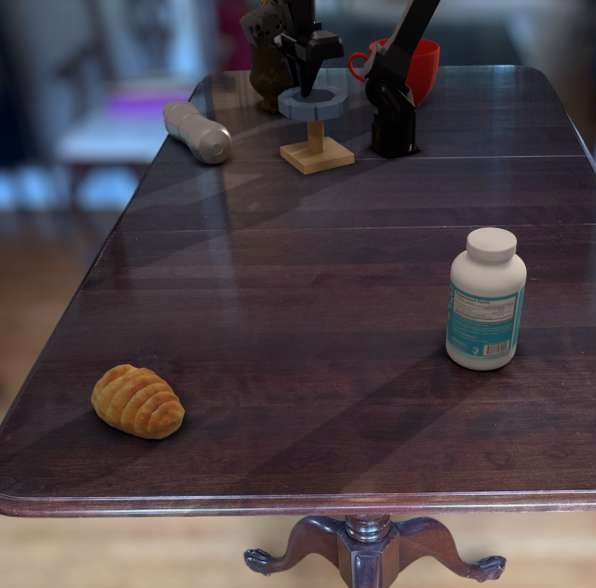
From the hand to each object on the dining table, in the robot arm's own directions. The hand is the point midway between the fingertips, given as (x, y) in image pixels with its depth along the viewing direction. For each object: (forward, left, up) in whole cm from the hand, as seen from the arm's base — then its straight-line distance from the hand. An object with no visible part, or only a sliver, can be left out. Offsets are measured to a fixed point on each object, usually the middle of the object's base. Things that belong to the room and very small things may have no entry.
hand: (302, 94), depth 113 cm
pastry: (+43, +51, -9) cm, 67 cm away
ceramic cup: (-25, -13, -9) cm, 30 cm away
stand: (0, +4, -9) cm, 10 cm away
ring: (0, +4, -1) cm, 4 cm away
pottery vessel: (-7, -23, -9) cm, 26 cm away
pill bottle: (+9, +60, -9) cm, 62 cm away
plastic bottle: (+15, -1, -6) cm, 16 cm away
